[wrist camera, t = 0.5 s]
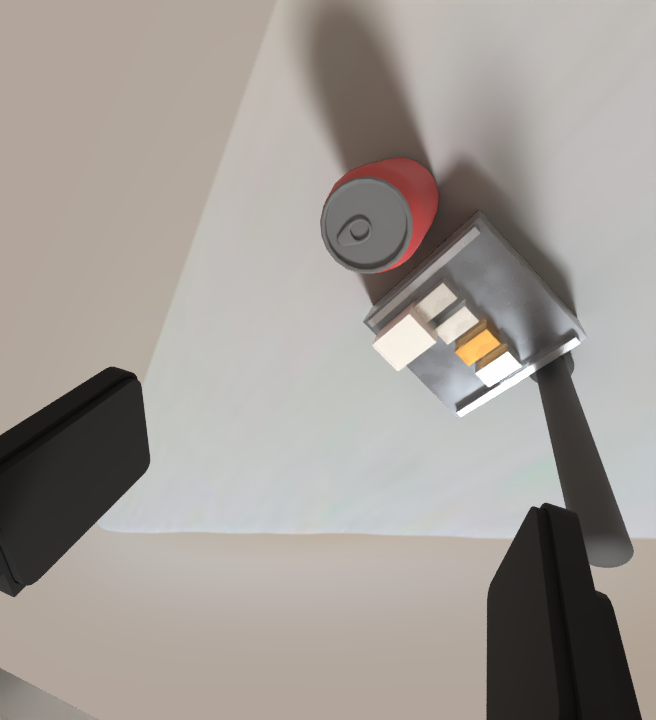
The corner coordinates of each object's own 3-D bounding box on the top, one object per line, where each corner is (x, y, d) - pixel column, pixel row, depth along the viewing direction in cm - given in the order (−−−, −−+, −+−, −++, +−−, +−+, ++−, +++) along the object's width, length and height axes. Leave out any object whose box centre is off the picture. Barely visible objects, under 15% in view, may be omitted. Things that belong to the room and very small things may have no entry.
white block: (414, 300, 35) (409, 313, 32) (439, 327, 35) (436, 342, 32) (379, 330, 37) (371, 345, 34) (403, 355, 37) (397, 371, 34)
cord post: (554, 335, 36) (617, 510, 19) (581, 365, 37) (666, 562, 20) (517, 360, 38) (545, 538, 21) (543, 388, 39) (591, 584, 22)
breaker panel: (479, 209, 34) (478, 221, 29) (577, 318, 35) (592, 346, 30) (373, 306, 40) (358, 328, 35) (460, 395, 41) (457, 428, 37)
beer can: (345, 185, 36) (292, 205, 26) (416, 139, 33) (387, 141, 23) (382, 255, 38) (345, 299, 28) (453, 217, 35) (441, 251, 25)
